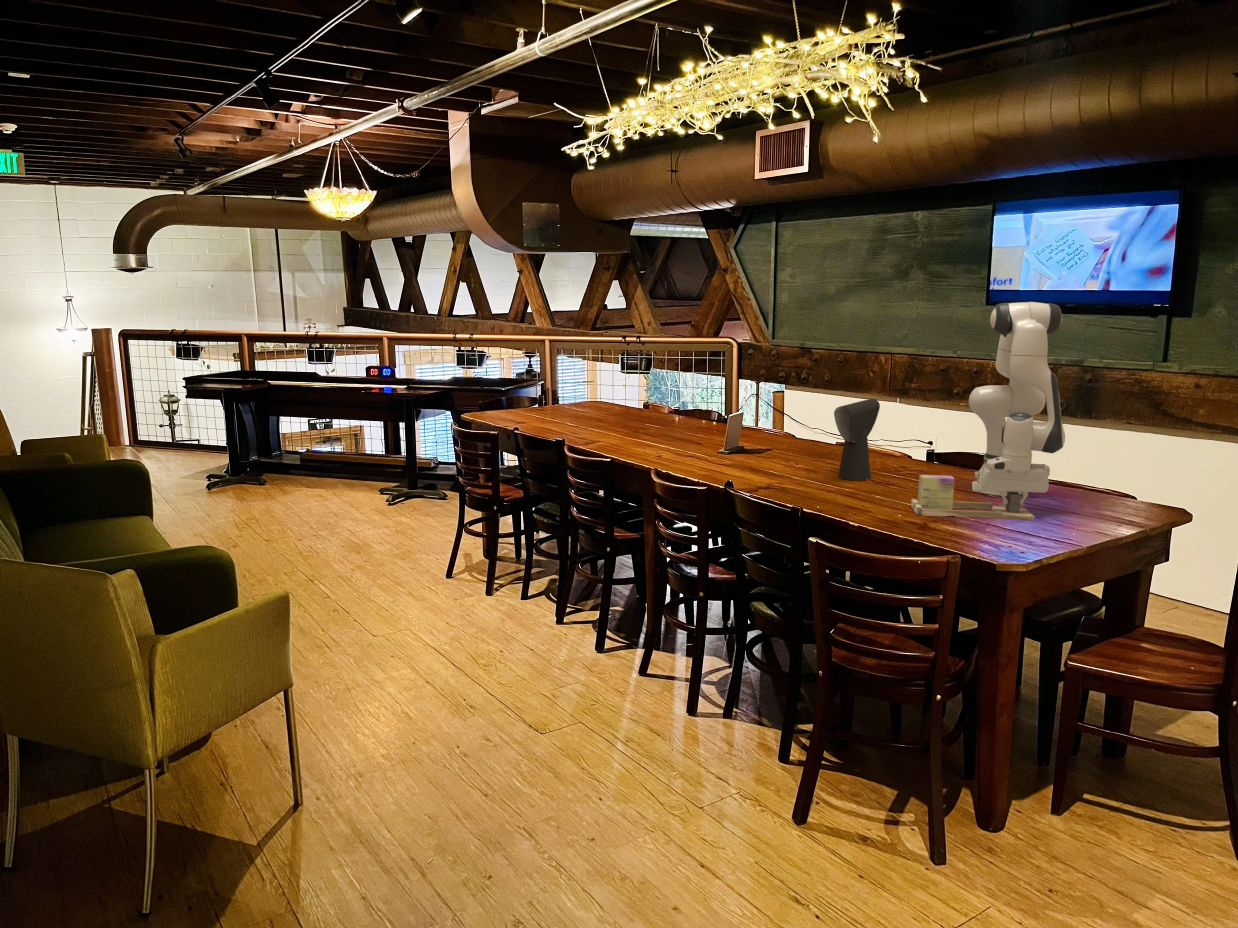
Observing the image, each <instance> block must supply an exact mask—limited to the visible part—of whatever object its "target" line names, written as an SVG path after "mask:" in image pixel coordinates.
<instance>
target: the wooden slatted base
mask: <svg viewBox="0 0 1238 928" xmlns="http://www.w3.org/2000/svg"><path fill="white" fill-rule="evenodd" d="M1021 495H1022V494H1019V493H1018V492H1007V496H1006V499H1009V505H993V502H985V501H984V502H981V501H980V502H979V501H976V502H975V501H954V500H953V509H952V510H938V509H922V507H921V505H920V504H919V503H918V499H916V498H911V499H910V506H911V508H912V510H913V511H914V513H915V515H916V516H922V517H923V516H925V517H926V516H928V517H946V516H955V517H954V518H972V519H973V518H975V519H976V518H978V519H1000V520H1001V519H1003V520H1005V519H1006V520H1008V519H1009V520H1026V521H1027V520H1028V521H1029V520H1033V521H1035V515H1033V513H1031V512H1030V511H1029V510H1028V509H1026V508H1025V507H1024V506H1021V505H1020V499H1021V497H1022V496H1021ZM959 509H961V510H959ZM962 509H971V510H962ZM972 509H976V510H972ZM986 510H987V511H986ZM989 510H990V511H989ZM991 510H992V511H991Z"/></svg>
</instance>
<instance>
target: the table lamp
mask: <svg viewBox="0 0 1238 928" xmlns="http://www.w3.org/2000/svg"><path fill="white" fill-rule="evenodd" d="M880 407H881V405H880V402H879V401H878V400H877V399H876V398H868V399H865V400H860V401H855V402H852V403H848V404H844V405H841V406H839V407H836V408H835V409H834V411H833V413H834V414H833V415H834V421H835V422H834V423H835V425H836V429H837V431H838V433H839V435H840V437H842V439H843V440H844V441H843V448H842V453H841V458H840V462H839V463H840V464H839V469H838V471H836V470H835V471H833V470H832V472H833V473H838V474H837V478H838V477H839V478H841V479H840V480H843V479H846V480H845V481H849V480H866V479H870V478H871V479H872V474H871V463H870V452H869V442H868V438H869V435H870V434H871V432H872V430H873V428H874V426H875V425H876V421H877V418H878V416H879V413H880ZM815 471H816V469H814V470H810V471H808V472H807V474H809V473H810V472H815ZM827 471H829V472H831V470H829V469H827ZM808 478H810V479H811V480H815V478H812V477H811V476H808ZM839 478H838V479H839ZM816 479H817V478H816ZM871 479H870V480H871ZM816 481H819V479H817V480H816Z"/></svg>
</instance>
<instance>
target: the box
mask: <svg viewBox="0 0 1238 928" xmlns="http://www.w3.org/2000/svg"><path fill="white" fill-rule="evenodd" d="M955 479H956V478H954V476H952V475H943V474H941V475H940V474H936V475H935V474H919V477H918V492H917V500H918V503H919V504H920V505H921V507H922V509H938V510H954V508H953V501H954V496H955V495H954V491H955Z"/></svg>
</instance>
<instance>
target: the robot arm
mask: <svg viewBox="0 0 1238 928" xmlns="http://www.w3.org/2000/svg"><path fill="white" fill-rule="evenodd" d="M1062 313H1063V312H1062V309H1061V307H1060V306H1059V305H1057V304H1055V303H1050V302H1047V303H1044V302H1037V301H1036V302H1035V301H1027V302H1025V301H1024V302H1022V301H1020V302H1002V303H1001V302H1000V303H998V304H996V305H995V306H994V307H993V310H992V311H991V313H990V326H991V329H992V330H993V331H994V333H996V334H998V335H1000V336H999V341H998V346H997V353H996V359H995V369H996V371H997V372H998V373H999V374H1000V375H1001V376H1003V377H1005V378H1007V379H1009V382H1008V385H1004V384H1003V385H999V384H998V385H996V384H995V385H993V384H989V385H982V386H978V387H974V389H973V390H972V391H971V392H970V394H969V398H968V405H969V409H970V410H971V411H972V412H973V414H975V415H977V417H978V418H979V419H981V421H982V423H983V425H984V427H985V431H986V450H985V451H986V452H984V456H983V464H982V466H981V467H980V469H979V470H978V471H975V472H974V478H975V479H976V480H974V481H972V482H971V491H972V492H975V493H982V494H985V495H986V494H987V495H991V496H1001V498H1002V504H1003V506H1006V505H1009V499H1007V492H1018V493H1019V494H1020V495H1022V496H1021V499H1020V506H1024V501H1025V500H1026V498H1027V497H1028V496H1029V493H1037V494H1039V493H1043V494H1045V493H1047V492H1048V491H1049V476H1050V473H1051V469H1050V467H1049V466H1048V465H1046V463H1032V458H1033V453H1032V451H1033V452H1041V453H1046V454H1047V453H1048V454H1055V453H1057V452H1059V451H1060V450H1061V449H1063V448H1064V445H1065V443H1066V433H1065V428H1064V426H1063V425H1064V424H1063V419H1062V410H1061V409H1062V408H1061V407H1062V406H1061V400H1060V397H1061V396H1060V388H1059V381H1058V377H1057V374H1056V373H1055V372H1052V371H1051V369H1050V367H1049V364H1048V349H1049V347H1048V346H1049V345H1048V344H1049V343H1048V336H1051V335H1053V334H1056V332H1057V331H1059V329H1060V328H1061V325H1062V322H1063V314H1062ZM1045 406H1046V409H1047V410H1046V411H1047V420H1046V421H1034V418H1033V415H1037V414H1040V413H1041V412H1042V410H1043V409H1044V408H1045Z"/></svg>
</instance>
